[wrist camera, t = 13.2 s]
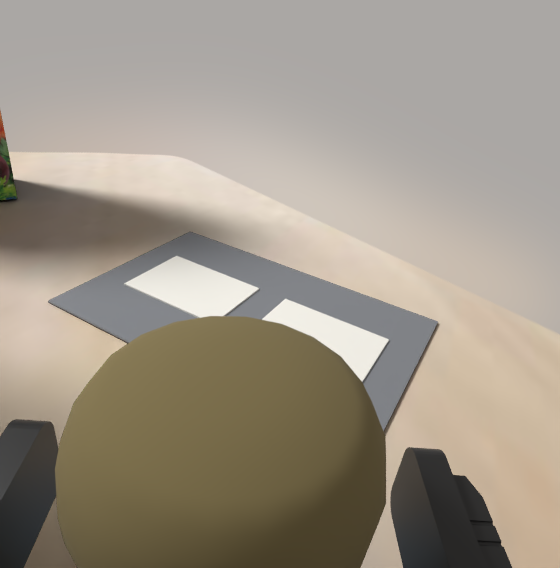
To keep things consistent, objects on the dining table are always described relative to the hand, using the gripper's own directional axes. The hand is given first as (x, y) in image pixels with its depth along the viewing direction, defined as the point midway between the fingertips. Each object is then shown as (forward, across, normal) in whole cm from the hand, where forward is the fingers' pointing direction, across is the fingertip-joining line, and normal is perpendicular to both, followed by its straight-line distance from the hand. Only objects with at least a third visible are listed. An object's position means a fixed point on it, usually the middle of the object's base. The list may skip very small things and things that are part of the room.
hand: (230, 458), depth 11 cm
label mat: (+16, 0, +7) cm, 18 cm away
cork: (-2, 0, +7) cm, 7 cm away
